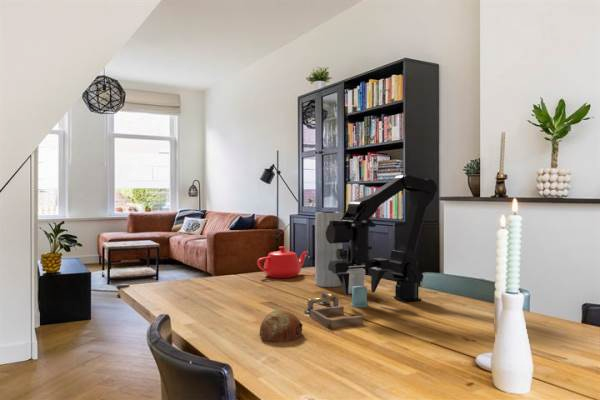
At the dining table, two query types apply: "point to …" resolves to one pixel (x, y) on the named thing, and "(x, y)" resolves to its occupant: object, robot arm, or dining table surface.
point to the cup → (356, 278)
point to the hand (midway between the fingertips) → (359, 293)
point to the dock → (333, 323)
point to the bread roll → (280, 327)
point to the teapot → (282, 263)
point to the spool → (359, 296)
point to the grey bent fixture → (322, 301)
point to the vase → (325, 250)
